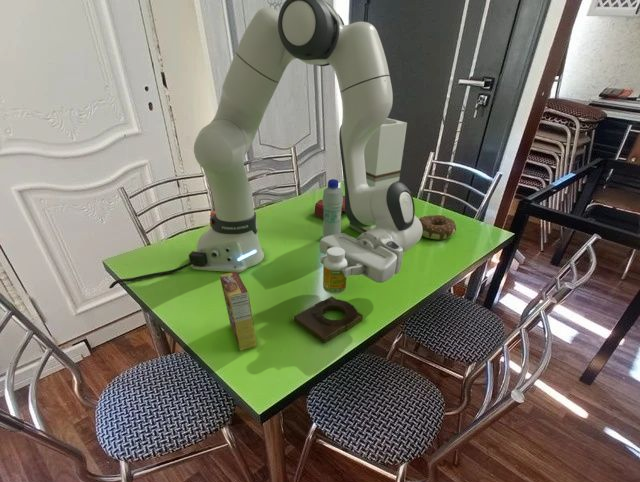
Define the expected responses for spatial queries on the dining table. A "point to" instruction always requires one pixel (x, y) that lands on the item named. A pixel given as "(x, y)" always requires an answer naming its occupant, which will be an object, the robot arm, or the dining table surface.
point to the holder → (325, 327)
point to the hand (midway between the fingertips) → (332, 267)
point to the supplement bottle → (334, 271)
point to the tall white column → (384, 156)
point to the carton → (320, 208)
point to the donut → (437, 227)
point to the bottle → (332, 208)
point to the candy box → (239, 310)
